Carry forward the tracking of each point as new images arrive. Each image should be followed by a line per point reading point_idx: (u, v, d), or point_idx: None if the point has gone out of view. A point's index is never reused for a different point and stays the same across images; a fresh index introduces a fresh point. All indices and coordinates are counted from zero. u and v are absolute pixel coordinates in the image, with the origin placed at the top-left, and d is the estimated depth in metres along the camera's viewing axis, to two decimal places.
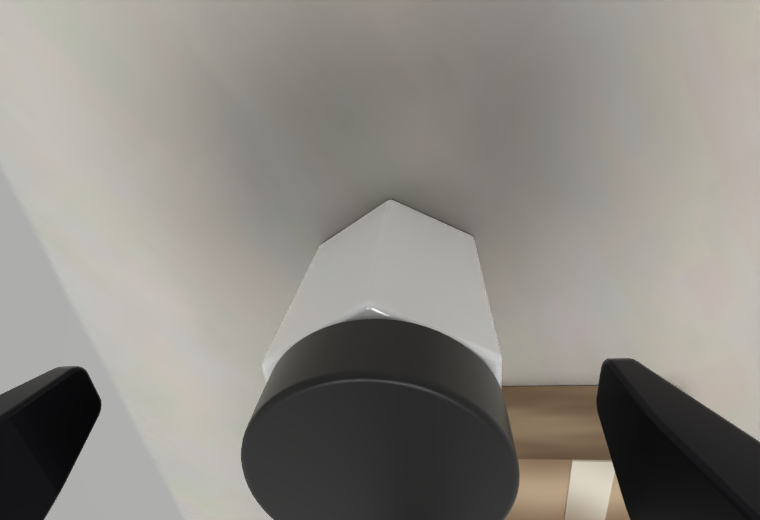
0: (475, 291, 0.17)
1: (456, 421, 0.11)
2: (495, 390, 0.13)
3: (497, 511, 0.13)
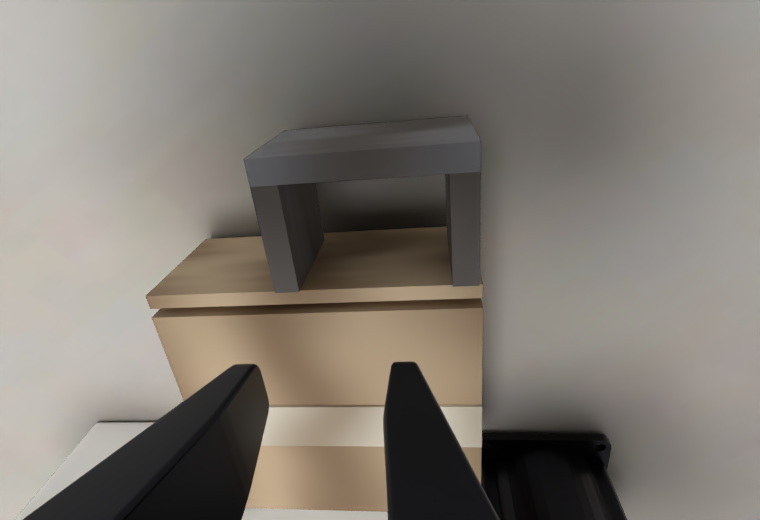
0: None
1: None
2: None
3: None
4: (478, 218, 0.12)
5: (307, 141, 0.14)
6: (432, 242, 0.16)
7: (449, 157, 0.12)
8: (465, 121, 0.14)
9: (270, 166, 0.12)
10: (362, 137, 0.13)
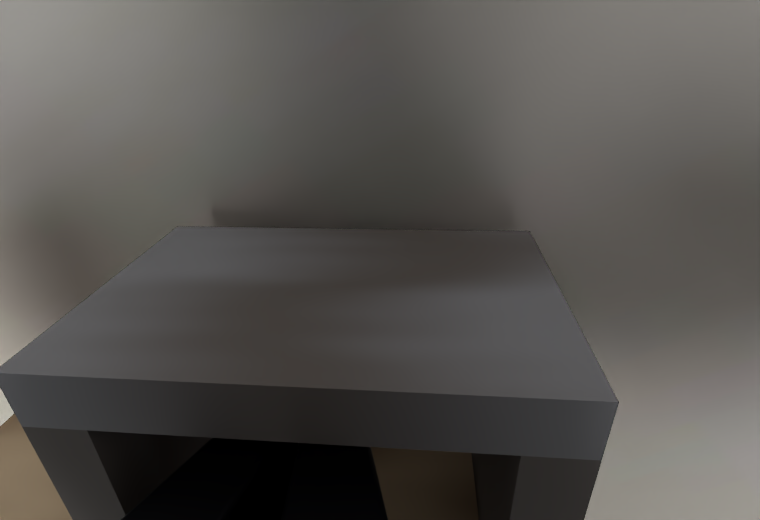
0: None
1: None
2: None
3: None
4: None
5: (192, 291, 0.06)
6: None
7: (525, 425, 0.04)
8: (533, 258, 0.07)
9: (63, 393, 0.05)
10: (312, 298, 0.06)
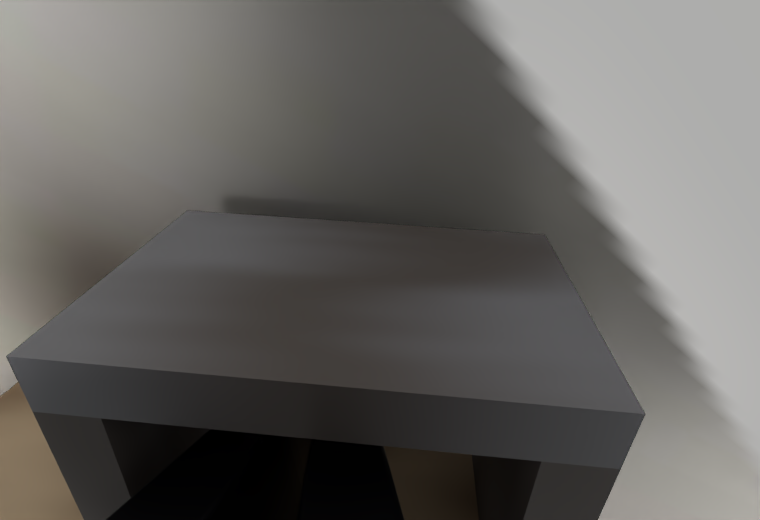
0: None
1: None
2: None
3: None
4: None
5: (208, 279, 0.06)
6: None
7: (550, 432, 0.04)
8: (550, 262, 0.07)
9: (79, 381, 0.05)
10: (332, 292, 0.06)
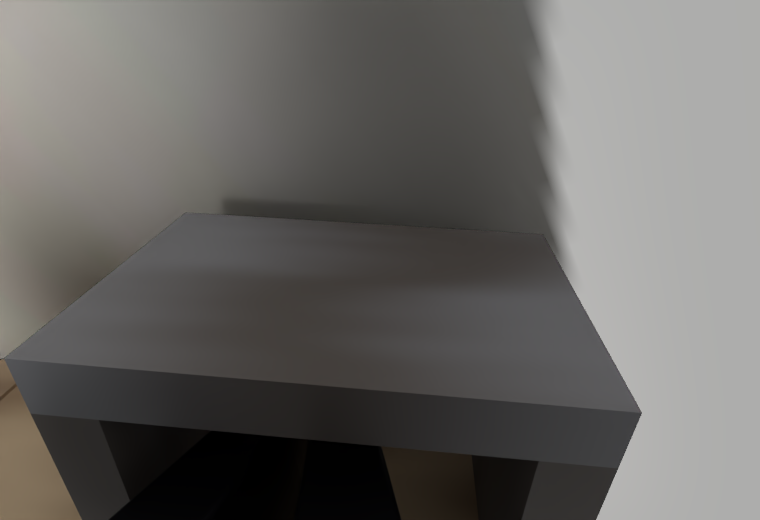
0: None
1: None
2: None
3: None
4: None
5: (206, 281, 0.06)
6: None
7: (547, 431, 0.04)
8: (548, 262, 0.07)
9: (77, 382, 0.05)
10: (329, 293, 0.06)
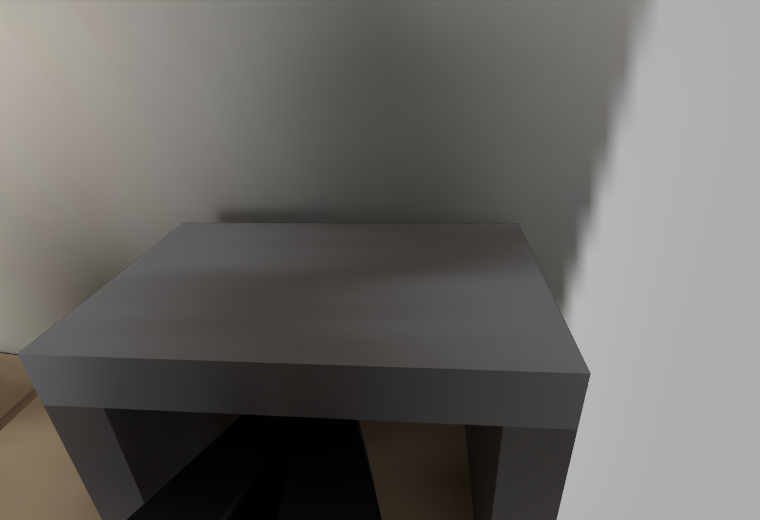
0: None
1: None
2: None
3: None
4: (555, 505, 0.06)
5: (199, 281, 0.07)
6: (437, 422, 0.10)
7: (506, 396, 0.05)
8: (520, 248, 0.07)
9: (82, 373, 0.05)
10: (311, 285, 0.06)
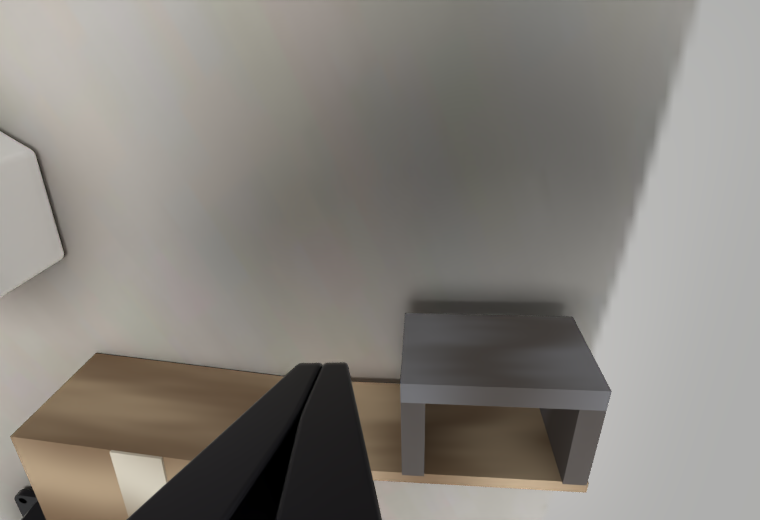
0: None
1: None
2: None
3: None
4: (596, 441, 0.14)
5: (442, 350, 0.15)
6: (526, 412, 0.18)
7: (581, 399, 0.14)
8: (576, 332, 0.16)
9: (422, 390, 0.14)
10: (493, 353, 0.15)
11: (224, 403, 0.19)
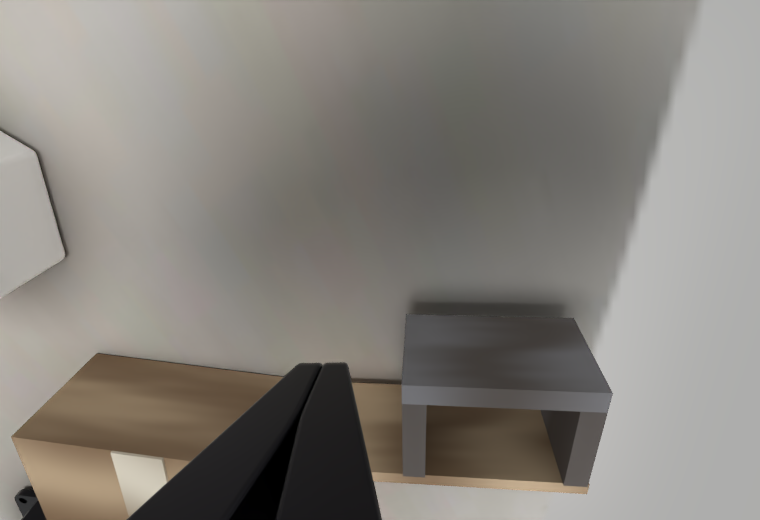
0: None
1: None
2: None
3: None
4: (597, 442, 0.14)
5: (443, 351, 0.15)
6: (527, 413, 0.18)
7: (583, 401, 0.14)
8: (577, 334, 0.16)
9: (424, 392, 0.14)
10: (494, 354, 0.15)
11: (225, 403, 0.19)
